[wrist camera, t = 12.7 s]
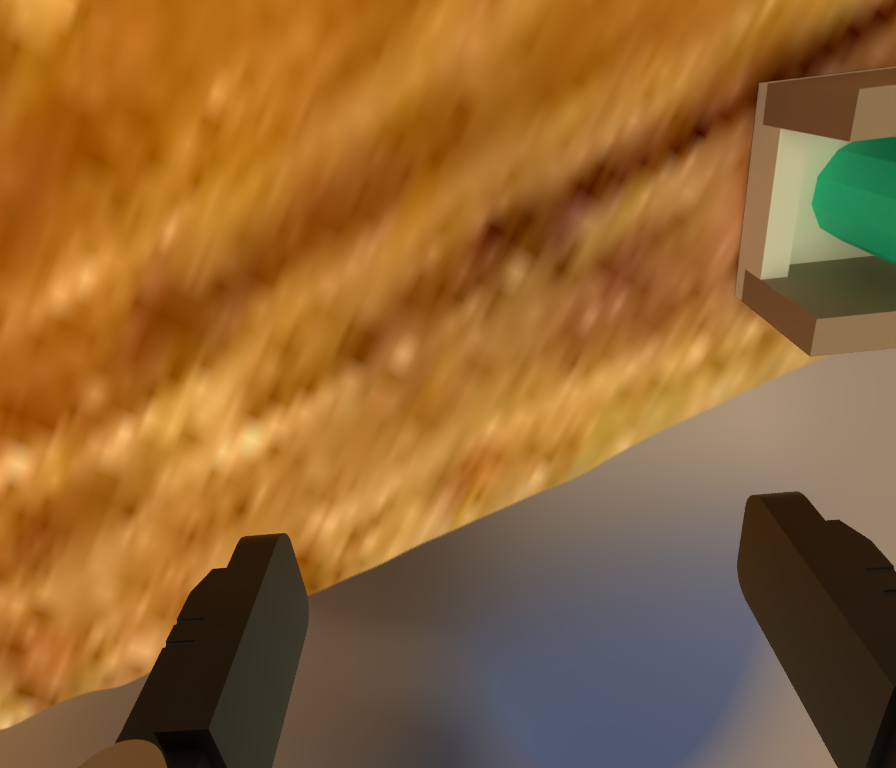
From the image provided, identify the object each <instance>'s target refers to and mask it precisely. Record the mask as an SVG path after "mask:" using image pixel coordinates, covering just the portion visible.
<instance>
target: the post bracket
mask: <svg viewBox="0 0 896 768" xmlns="http://www.w3.org/2000/svg"><path fill="white" fill-rule="evenodd" d="M887 137H896V66H894V67H886V68H877V69H869V70H861V71H853V72H845V73H836V74H828V75H820V76H812V77H804V78H795V79H787V80H779V81H771V82H762V83H759V88H758V97H757V106H756V114H755V123H754V132H753V140H752V149H751V158H750V167H749V175H748V184H747V193H746V201H745V210H744V219H743V227H742V236H741V245H740V254H739V262H738V271H737V280H736V288H735V296H736V297H738V298H739V299H740V300H741V301H742V302H744V303H745V304H746V305H747V306H749V307H750V308H751V309H752V310H753V311H755V312H756V313H757V314H758V315H760V316H761V317H762V318H763V319H765V320H766V321H767V322H768V323H769V324H771V325H772V326H773V327H774V328H776V329H777V330H778V331H779V332H780V333H782V334H783V335H784V336H785V337H787V338H788V339H789V340H790V341H791V342H793V343H794V344H795V345H796V346H798V347H799V348H800V349H801V350H803V351H804V352H805V353H806V354H807V355H809V356H810V357H811V356H821V355H831V354H842V353H852V352H862V351H873V350H883V349H892V348H896V265H894V264H892V263H890V262H888V261H885V260H883V259H881V258H879V257H877V256H874V255H872V254H870V253H868V252H866V251H863V250H861V249H859V248H857V247H855V246H852V245H850V244H848V243H846V242H844V241H841V240H839V239H838V238H836V237H834V236H833V235H831V234H829V233H828V232H826V231H824V230H823V229H821V228H820V227H819V224H818V222H817V219H816V216H815V213H814V211H813V208H812V205H811V204H812V200H813V195H814V191H815V186H816V182H817V177H818V175H819V174H820V173H821V171H822V170H823V169H824V167H825V166H826V165H827V163H828V162H829V161H830V159H831V158H832V157H833V156H834V154H835V153H836V152H837V150H838V149H840V148H842V147H844V146H845V145H847V144H849V143H850V142H852V141H861V140H870V139H878V138H887Z"/></svg>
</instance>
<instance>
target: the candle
mask: <svg viewBox="0 0 896 768" xmlns="http://www.w3.org/2000/svg"><path fill="white" fill-rule="evenodd" d="M811 205H812V208H813V211H814V213H815V216H816V219H817V222H818V224H819V227H820V228H821V229H823V230H824V231H826V232H828V233H829V234H831V235H833V236H834V237H836V238H838V239H839V240H841V241H844V242H846V243H848V244H850V245H852V246H855V247H857V248H859V249H861V250H863V251H866V252H868V253H870V254H872V255H874V256H877V257H879V258H881V259H883V260H885V261H888V262H890V263H892V264H894V265H896V137H887V138H878V139H870V140H861V141H852V142H850V143H849V144H847V145H845V146H844V147H842V148H840V149H838V150H837V152H836V153H835V154H834V156H833V157H832V158H831V159H830V161H829V162H828V163H827V165H826V166H825V167H824V169H823V170H822V171H821V173H820V174H819V175H818V177H817V182H816V186H815V191H814V195H813V200H812V204H811Z"/></svg>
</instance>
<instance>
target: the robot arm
mask: <svg viewBox="0 0 896 768" xmlns="http://www.w3.org/2000/svg"><path fill="white" fill-rule="evenodd" d="M737 571H738V578H739V583H740V587H741V589H742V592H743V595H744V597H745V599H746V601H747V603H748V605H749V607H750V609H751V610H752V612H753V614H754V616H755V618H756V620H757V621H758V623H759V625H760V627H761V629H762V631H763V632H764V634H765V636H766V638H767V639H768V641H769V643H770V645H771V647H772V649H773V650H774V652H775V654H776V656H777V658H778V660H779V661H780V663H781V665H782V667H783V668H784V671H785V672H786V674H787V676H788V678H789V680H790V682H791V683H792V685H793V687H794V689H795V691H796V692H797V694H798V696H799V698H800V700H801V702H802V703H803V705H804V707H805V709H806V711H807V712H808V714H809V716H810V718H811V720H812V721H813V723H814V725H815V727H816V729H817V730H818V732H819V734H820V736H821V738H822V740H823V742H824V743H825V745H826V747H827V749H828V750H829V752H830V754H831V756H832V758H833V760H834V762H835V763H836V765H837V767H838V768H896V572H895V570H894V566H893V565H892V564H891V563H890V562H889V560H888V559H887V558H886V557H885V556H884V555H883V554H882V553H881V551H880V550H879V549H878V548H877V547H876V546H875V544H874V543H873V542H872V541H871V540H869V539H868V538H866V537H865V536H863V535H862V534H860V533H859V532H857V531H855V530H854V529H852V528H851V527H849V526H848V525H846V524H844V523H843V522H841V521H840V520H828V521H825V520H824V518H823V517H822V516H821V515H820V514H819V512H818V511H817V510H816V509H815V507H814V506H813V505H812V504H811V503H810V501H809V500H808V499H807V498H806V497H805V496H804V495H803V494H802V493H800V492H784V493H772V494H760V495H752V496H750V497H749V498H748V500H747V502H746V506H745V513H744V520H743V526H742V534H741V540H740V547H739V553H738V561H737ZM308 616H309V606H308V597H307V593H306V589H305V586H304V583H303V580H302V576H301V573H300V570H299V567H298V563H297V560H296V557H295V554H294V550H293V547H292V544H291V541H290V538H289V537H288V535H287V534H285V533H279V534H267V535H256V536H245V537H242V538H241V539H240V540H239V542H238V544H237V546H236V548H235V550H234V553H233V555H232V557H231V559H230V562H229V564H228V566H227V568H218V569H212V570H211V571H210V572H209V573H208V575H207V576H206V577H205V578H204V579H203V580H202V581H201V582H200V583H199V584H198V585H197V586H196V587H195V588H194V589H193V590H192V591H191V592H190V594H189V596H188V598H187V600H186V602H185V604H184V606H183V608H182V610H181V612H180V614H179V616H178V618H177V624H176V625H174V626H173V628H172V630H171V632H170V634H169V636H168V638H167V640H166V647H165V648H162V650H161V652H160V654H159V656H158V659H157V661H156V663H155V665H154V667H153V669H152V671H151V673H150V675H149V677H148V679H147V681H146V683H145V685H144V687H143V689H142V691H141V693H140V695H139V697H138V699H137V701H136V703H135V705H134V707H133V709H132V711H131V713H130V715H129V717H128V719H127V721H126V723H125V725H124V727H123V730H122V732H121V733H120V735H119V737H118V739H117V740H116V742H115V744H113V745H110V746H108V747H106V748H104V749H102V750H100V751H98V752H97V753H96V754H94V755H93V756H91V757H90V758H88V759H87V760H86V761H85V762H83V763H82V764H81V765H80V766H79V767H78V768H272V765H273V761H274V757H275V753H276V749H277V745H278V741H279V738H280V734H281V730H282V726H283V722H284V718H285V714H286V710H287V706H288V702H289V699H290V694H291V691H292V687H293V683H294V679H295V675H296V671H297V667H298V663H299V659H300V655H301V652H302V648H303V644H304V640H305V636H306V632H307V627H308V618H309V617H308Z"/></svg>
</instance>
